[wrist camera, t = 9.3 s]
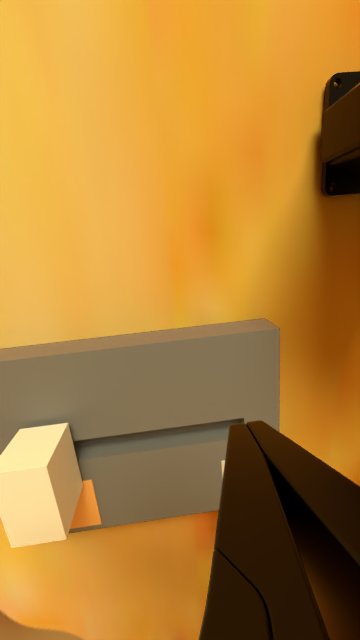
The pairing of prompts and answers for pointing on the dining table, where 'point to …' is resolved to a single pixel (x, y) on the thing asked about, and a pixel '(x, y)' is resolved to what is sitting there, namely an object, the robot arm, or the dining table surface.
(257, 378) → the console
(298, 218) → the dining table surface
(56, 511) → the fader
